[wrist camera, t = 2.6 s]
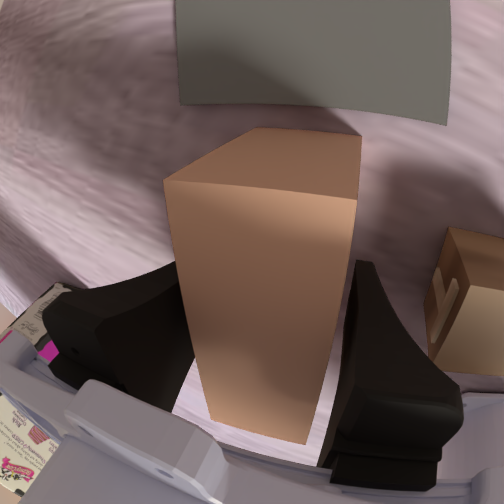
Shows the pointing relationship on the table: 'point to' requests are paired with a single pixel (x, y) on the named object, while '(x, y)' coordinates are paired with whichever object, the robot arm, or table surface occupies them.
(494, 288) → the brown cube
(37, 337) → the candy bar box
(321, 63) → the mat
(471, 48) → the table surface
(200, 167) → the block
